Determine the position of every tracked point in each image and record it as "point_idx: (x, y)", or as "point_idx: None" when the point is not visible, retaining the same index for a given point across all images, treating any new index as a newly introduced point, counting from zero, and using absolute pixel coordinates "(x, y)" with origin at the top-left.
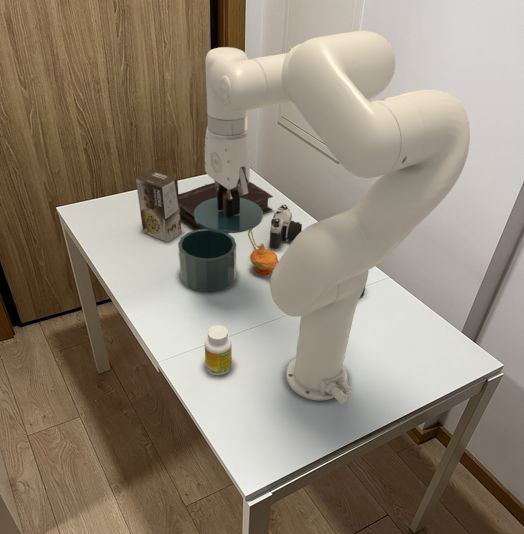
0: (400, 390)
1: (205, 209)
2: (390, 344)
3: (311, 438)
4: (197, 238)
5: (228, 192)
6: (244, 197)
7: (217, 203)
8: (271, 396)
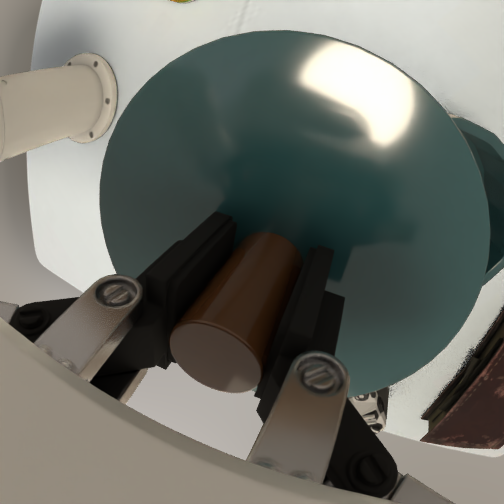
0: (40, 165)
1: (419, 212)
2: (82, 225)
3: (47, 30)
4: (497, 242)
5: (92, 323)
6: (468, 420)
7: (326, 272)
8: (100, 21)
